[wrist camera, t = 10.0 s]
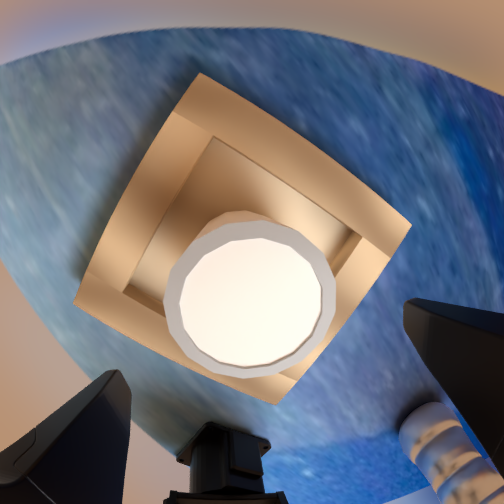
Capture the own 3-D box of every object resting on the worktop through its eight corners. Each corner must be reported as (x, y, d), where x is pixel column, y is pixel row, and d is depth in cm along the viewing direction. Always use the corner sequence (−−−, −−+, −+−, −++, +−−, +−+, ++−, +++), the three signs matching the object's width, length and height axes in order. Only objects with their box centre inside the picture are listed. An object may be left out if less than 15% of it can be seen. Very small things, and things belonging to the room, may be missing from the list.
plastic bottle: (436, 383, 25) (549, 520, 6) (446, 412, 27) (536, 529, 8) (384, 422, 26) (474, 578, 7) (401, 446, 28) (475, 575, 9)
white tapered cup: (308, 291, 20) (348, 351, 13) (203, 323, 20) (199, 395, 13) (281, 184, 18) (318, 197, 11) (165, 219, 18) (135, 253, 11)
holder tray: (270, 384, 23) (275, 405, 20) (86, 288, 19) (72, 303, 17) (392, 217, 20) (411, 224, 18) (201, 83, 17) (199, 72, 14)
